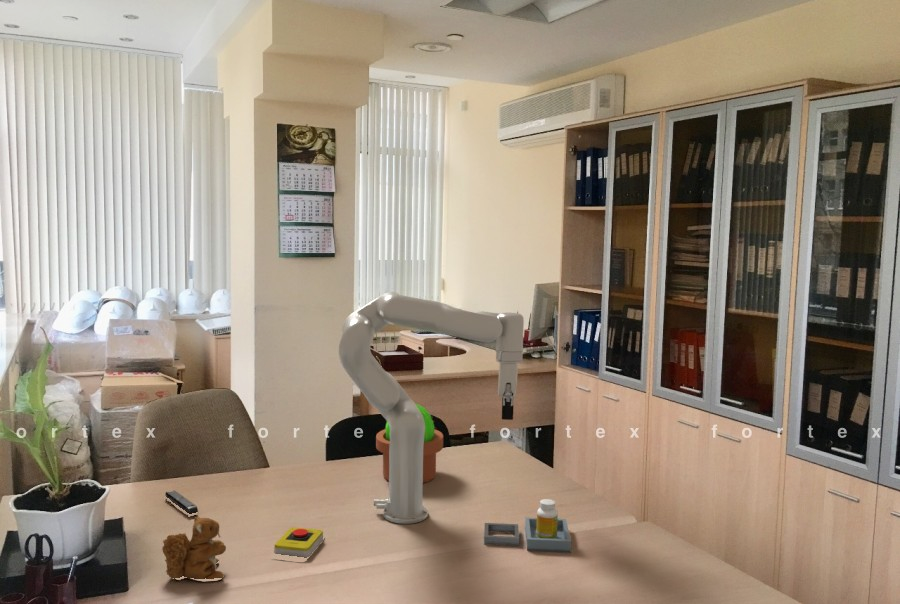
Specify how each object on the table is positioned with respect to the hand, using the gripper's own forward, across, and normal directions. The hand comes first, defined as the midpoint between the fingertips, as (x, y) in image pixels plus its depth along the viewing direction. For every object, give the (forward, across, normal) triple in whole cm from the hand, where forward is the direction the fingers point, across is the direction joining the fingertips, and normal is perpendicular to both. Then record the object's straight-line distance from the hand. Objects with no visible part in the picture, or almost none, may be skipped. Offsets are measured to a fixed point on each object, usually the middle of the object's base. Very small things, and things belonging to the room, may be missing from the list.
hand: (507, 415), depth 206 cm
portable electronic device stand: (+29, +10, -93) cm, 98 cm away
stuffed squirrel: (+29, +48, -72) cm, 91 cm away
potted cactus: (+28, -25, -31) cm, 49 cm away
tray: (+28, +19, +11) cm, 36 cm away
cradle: (+28, +20, -1) cm, 34 cm away
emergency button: (+29, +32, -52) cm, 67 cm away
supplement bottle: (+28, +19, +11) cm, 36 cm away
